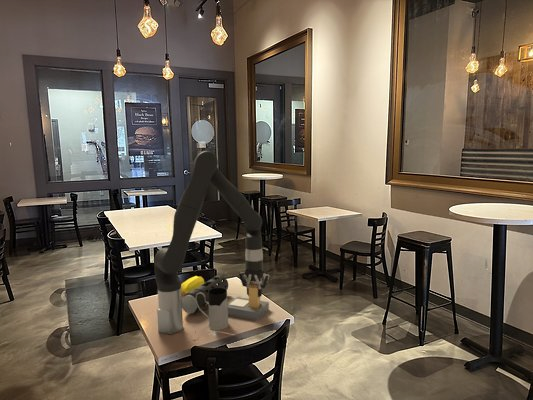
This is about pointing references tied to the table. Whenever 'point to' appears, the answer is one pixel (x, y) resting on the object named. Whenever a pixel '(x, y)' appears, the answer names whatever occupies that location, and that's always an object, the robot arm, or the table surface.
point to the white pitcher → (217, 308)
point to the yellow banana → (191, 284)
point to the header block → (246, 309)
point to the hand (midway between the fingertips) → (254, 295)
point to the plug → (253, 296)
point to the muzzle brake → (189, 298)
